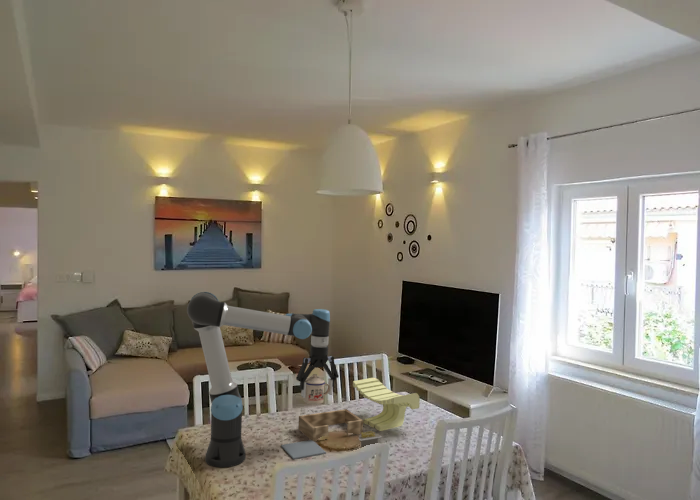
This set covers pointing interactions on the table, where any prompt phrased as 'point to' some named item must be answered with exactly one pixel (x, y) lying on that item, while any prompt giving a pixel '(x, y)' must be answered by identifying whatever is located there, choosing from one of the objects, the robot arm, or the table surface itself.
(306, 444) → the mat
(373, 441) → the platform
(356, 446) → the table surface
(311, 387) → the teacup with lid
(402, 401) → the slatted curved stool
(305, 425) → the open enclosure
